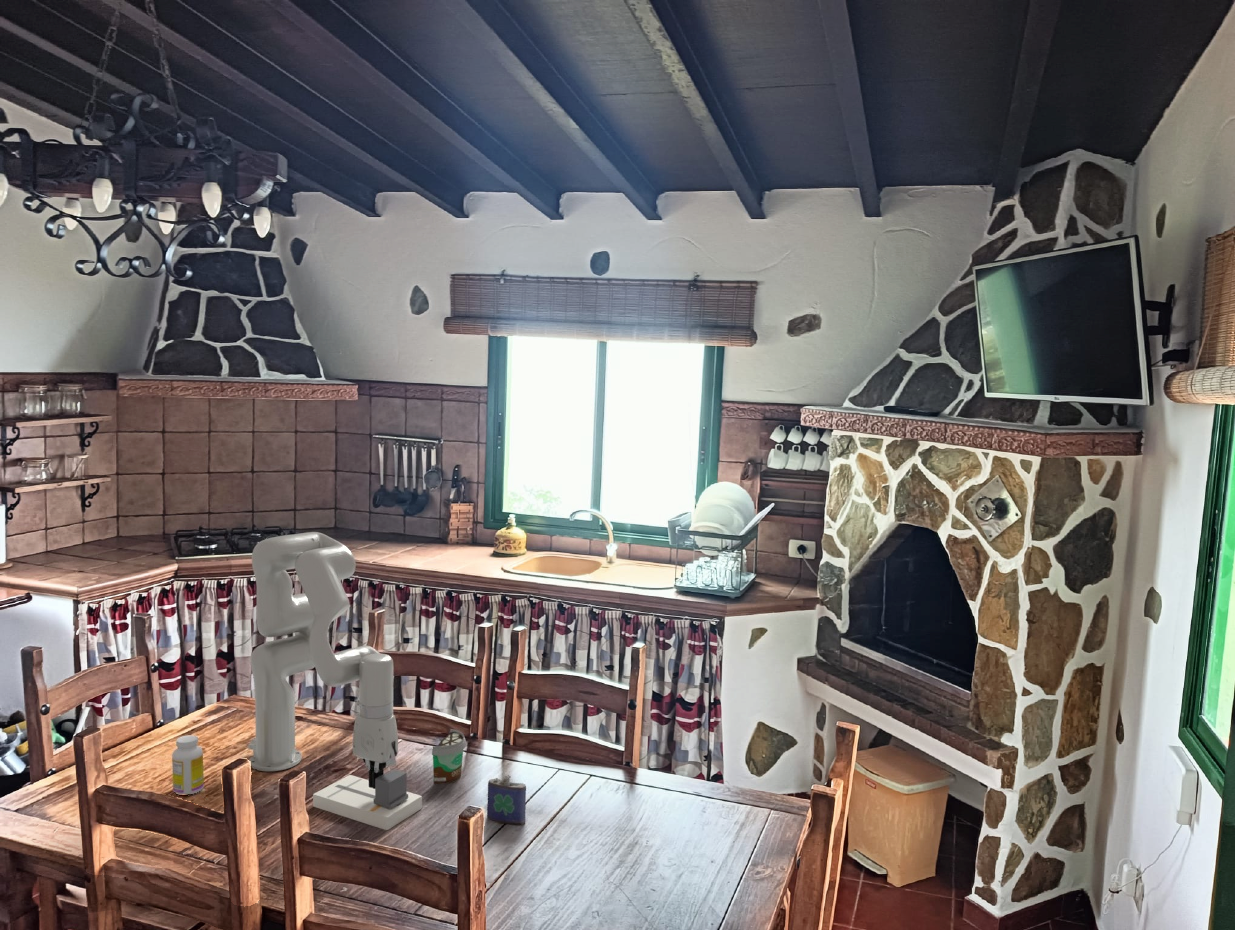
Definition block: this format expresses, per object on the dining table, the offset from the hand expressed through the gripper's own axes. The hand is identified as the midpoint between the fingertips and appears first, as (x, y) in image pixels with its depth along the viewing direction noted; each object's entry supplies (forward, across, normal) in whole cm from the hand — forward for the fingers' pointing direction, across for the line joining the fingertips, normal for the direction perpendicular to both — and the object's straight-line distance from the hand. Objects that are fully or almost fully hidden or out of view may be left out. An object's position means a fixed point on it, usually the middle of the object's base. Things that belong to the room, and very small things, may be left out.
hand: (376, 785), depth 215 cm
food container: (+6, +4, +23) cm, 24 cm away
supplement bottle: (+6, -44, -15) cm, 47 cm away
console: (+6, -2, 0) cm, 6 cm away
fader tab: (+3, +4, 0) cm, 5 cm away
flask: (+6, +28, +11) cm, 31 cm away
